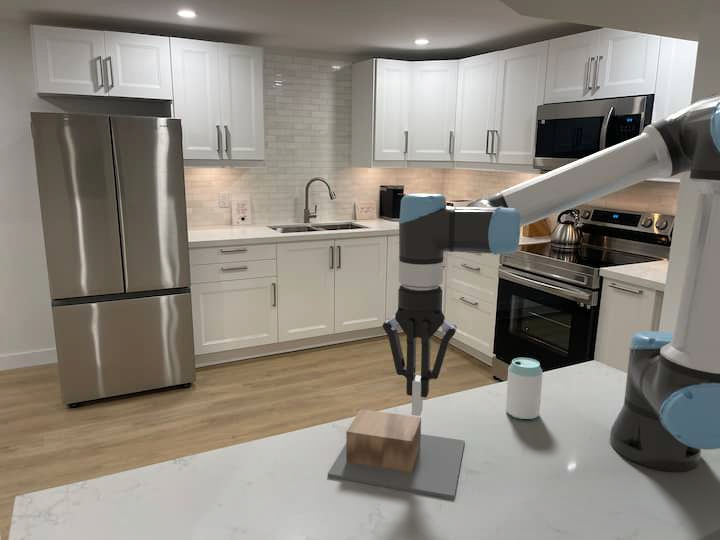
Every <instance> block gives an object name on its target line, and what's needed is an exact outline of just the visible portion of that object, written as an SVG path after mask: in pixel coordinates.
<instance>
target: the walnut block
mask: <svg viewBox="0 0 720 540" xmlns="http://www.w3.org/2000/svg"><path fill="white" fill-rule="evenodd" d="M421 429H422V417H421V416H415V415H405V414H398V413H393V412H384V411H376V410H371V409H361V408H360V409H359V411H358V412H357V414H356V415H355V417H354V419H353V420H352V421H351V423H350V425H349V426H348V427H347V430H346V433H345V434H346V435H345V436H346V437H345V438H346V443H345V444H346V459H347V462H352V463H358V464H364V465H370V466H376V467H382V468H388V469H394V470H400V471H406V472H412V469H413V466H414V464H415V461H416V458H417V455H418V452H419V449H420V440H421V434H422V430H421Z"/></svg>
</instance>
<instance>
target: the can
mask: <svg viewBox="0 0 720 540" xmlns="http://www.w3.org/2000/svg"><path fill="white" fill-rule="evenodd" d="M543 373H544V372H543V369H542V367H541V364H540V361H538V360H536V359H535V358H534V359H533V358H529V357H516V358H514V359H512V360H511V363H510V365H509V366H508V368H507V384H506V400H505V401H506V402H505V411H506V412H507V413H508V414H509V415H510V416H511V415H512V416H511V417H513V418H515V417H516V418H515V419H517V418H519V419H518V420H521V419H530V420H534V419H535V418H537V417H539V415H540V412H541V411H540V410H541V401H542V399H541V396H542V386H543V384H542V383H543V375H544V374H543Z"/></svg>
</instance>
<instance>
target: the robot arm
mask: <svg viewBox="0 0 720 540" xmlns="http://www.w3.org/2000/svg"><path fill="white" fill-rule="evenodd" d="M687 172H690V175H689V182H690V183H691V184H692V185H693V187H694V188H695V189H696V190H697V191H698V197H697V202H696V207H695V212H694V213H695V214H694V219H693V225H692V230H691V236H690V240H689V241H690V242H689V249H688V254H687V258H686V259H687V260H686V265H685V271H684V276H683V282H682V288H681V293H680V299H679V305H678V311H677V317H676V321H675V322H676V323H675V329H674V331H673V332H668V331H651V330H650V331H647V330H646V331H639V332H636V333H635V334H634V335H633V336H632V338H631V341H630V347H628V351H629V355H628V363H627V372H626V373H627V374H626V382H625V389H624V390H625V391H624V399H623V401H624V402H623V405H622V408H621V409H620V411H619V413H618V415H617V417H616V418H615V420H614V422H613V424H612V426H611V429H610V434H609V435H610V436H609V443H610V445H611V446H612V448H613V449H614V450H615V452H617V454H619V455H621V456H622V457H624V458H626V459H628V460H630V461H631V462H633V463H636V464H639V465H641V466H644V467H647V468H651V469H653V470H660V471H667V472H684V471H691V470H693V469H695V468H697V467H698V466H699V464H700V461H701V453H702V450H706V451H707V450H708V451H709V450H710V451H711V450H718V449H720V92H718V93H715V94H714V93H713V94H710V95H707V96H706V97H702V98H701V99H699V100H697V101H695V102H693V103H691V104H689V105H688V106H685V107H683V108H682V109H680V110H678V111H676V112H674V113H672V114H670V115H669V116H667V117H664V118H662V119H660V120H658V121H655V122H653V123H651V124H648V125H647V126H645V127H644V128H643V130H642V132H641V134H639V135H637V136H635V137H633V138H630V139H628V140H625V141H622V142H620V143H618V144H615V145H612V146H610V147H607V148H605V149H603V150H600V151H597V152H595V153H593V154H590V155H588V156H585V157H583V158H581V159H578V160H576V161H573V162H571V163H568V164H566V165H564V166H561V167H558V168H556V169H554V170H551V171H548V172H547V173H544V174H542V175H539V176H536V177H534V178H531V179H529V180H526V181H524V182H522V183H519V184H516V185H514V186H511V187H510V188H507V189H504V190H502V191H500V192H498V193H494V194H492V195H490V196H488V197H487V196H486V197H485V198H482V199H481V198H480V199H475V200H473V201H472V202H469V203H467V205H466V206H451V205H448V204H447V202H446V201H447V200H446V196H445V195H444V194H439V193H426V192H425V193H423V192H421V193H409V194H406V195H404V196H403V197H402V198H401V200H400V209H399V210H400V211H399V221H398V226H399V227H398V233H399V234H398V235H399V237H398V238H399V240H398V242H399V243H398V244H399V245H398V283H399V284H400V285H399V286H398V289H397V291H398V292H397V299H398V302H397V311H396V312H395V314H394V316H393V317H392V318H387V319H386V320H385V321H384V322H383V324H382V329H383V330H384V332H385V333H386V335H387V337H388V341H389V345H390V350H391V355H392V359H393V363H394V364H393V365H394V367H395V372H396V375H398V376H403V377H404V378H405V379H406V395H407V396H411V416H415V417H421V415H422V412H423V405H424V398H427V397H428V395H429V393H430V380H437V379H438V378H439V376H440V373H441V369H442V366H443V363H444V359H445V356H446V352H447V350H448V345H449V343H450V340H451V339H452V338H453V337H454V335H455V333H456V332H457V328H458V327H457V326H456V324H450V323H449V322H448V321H447V320H445V315H444V313H443V290H444V289H443V287H442V286H441V285H443V282H444V254H445V252H447V253H454V252H456V253H470V254H471V253H473V254H474V253H475V254H492V255H497V256H498V255H501V254H505V255H506V254H507V255H509V254H514V253H516V252H517V250H518V249H519V246H520V239H521V238H520V237H521V228H523V227H525V226H528V225H531V224H533V223H536V222H538V221H541V220H544V219H546V218H549V217H552V216H555V215H558V214H559V213H562V212H565V211H567V210H571V209H573V208H577V207H578V206H582V205H583V204H587V203H589V202H591V201H595V200H597V199H600V198H603V197H605V196H607V195H610V194H612V193H616V192H617V191H621V190H623V189H626V188H628V187H631V186H634V185H636V184H637V185H638V184H640V183H641V182H645V181H647V180H649V179H653V178H655V177H660V178H663V179H669V178H671V177H674V176H676V175H679V174H680V175H681V174H682V173H687ZM398 327H400V329H402V331H403V332H404V334H405V335H406V361H405V357H404V353H403V349H402V343H401V340H400V336H399V331H398ZM439 328H441V335H442V339H441V341H440V344H439V348H438V350H437V351H438V352H437V355H436V358H435V361H434V364H433V368H432V369H431V350H432V349H431V348H432V346H431V345H432V343H431V341H432V337H433V336H434V335H435V333H436V332H437V331H438V330H439ZM417 338H420V340H421V356H420V357H421V358H420V359H421V361H420V375H418V374H416V372H417V370H416V367H417V365H416V362H417V360H416V359H417V356H416V355H417Z"/></svg>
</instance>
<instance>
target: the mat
mask: <svg viewBox="0 0 720 540" xmlns="http://www.w3.org/2000/svg"><path fill="white" fill-rule="evenodd" d="M465 444H466V443H465V440H464V439H456V438H452V437H451V438H450V437H444V436H443V437H442V436H437V435H429V434H423V433H421V440H420V449H419V452H418V455H417V458H416V461H415V464H414V466H413V469H412V472H406V471H400V470H394V469H388V468H382V467H376V466H370V465H364V464H358V463H352V462H347V459H346V443H345V444H344V445H343V447H342V449H341V451H340V452H339V454H338V456H337V457H336V459H335V460H334V461H333V464H332V466H331V467H330V469H329V470H328V472H327V477H328V478H334V479H339V480H345V481H351V482H356V483H361V484H362V483H363V484H368V485H372V486H373V485H374V486H379V487H384V488H389V489H390V488H391V489H396V490H402V491H406V492H412V493H418V494H424V495H430V496H435V497H439V498H440V497H442V498H447V499H452V500H455V497H456V492H457V485H458V481H459V476H460V475H459V474H460V469H461V463H462V459H463V453H464V450H465V449H464V448H465Z"/></svg>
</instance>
